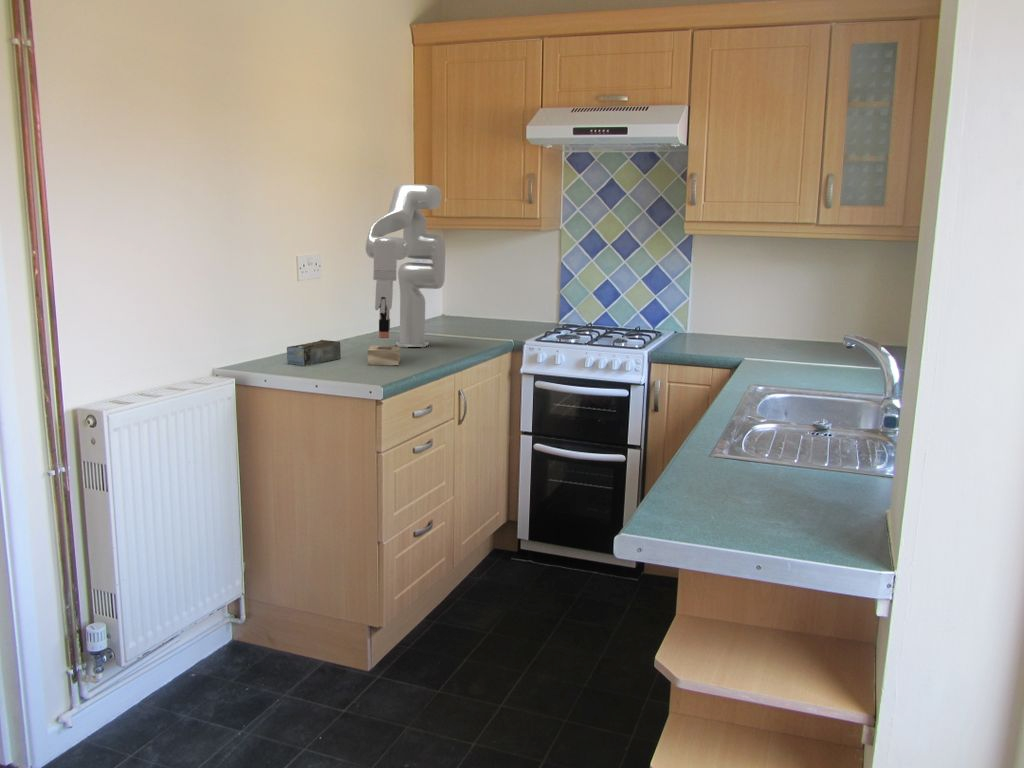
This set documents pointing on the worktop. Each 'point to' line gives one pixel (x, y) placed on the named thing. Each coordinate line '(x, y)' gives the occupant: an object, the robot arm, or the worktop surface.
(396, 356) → the socket block
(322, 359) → the weathered blue-grey brick
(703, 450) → the worktop surface
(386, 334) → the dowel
